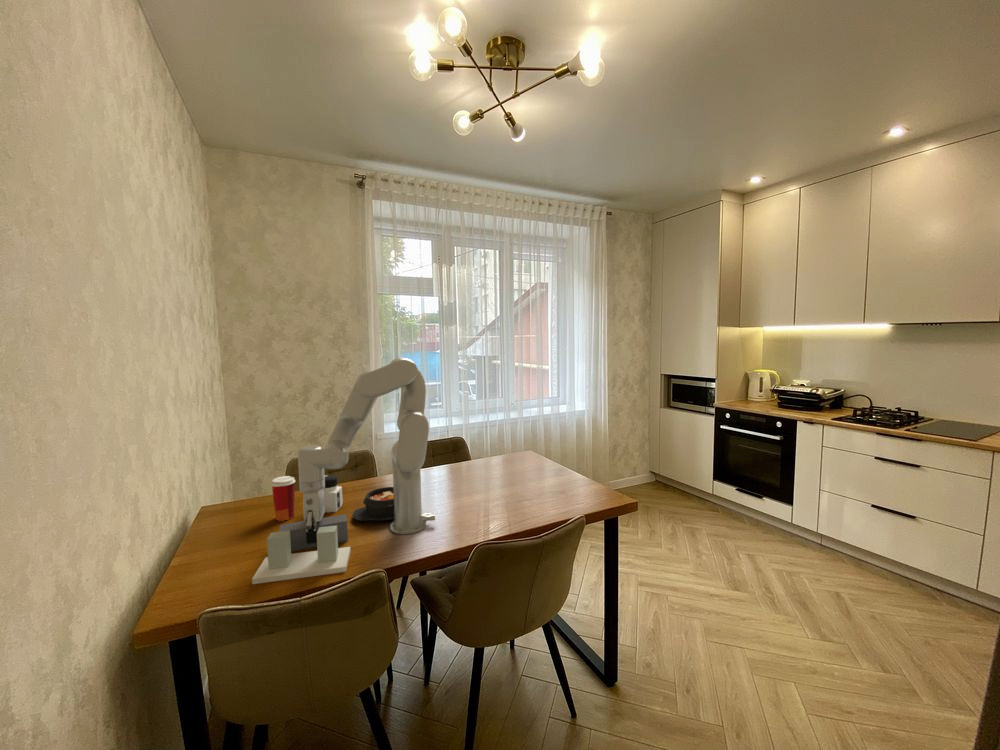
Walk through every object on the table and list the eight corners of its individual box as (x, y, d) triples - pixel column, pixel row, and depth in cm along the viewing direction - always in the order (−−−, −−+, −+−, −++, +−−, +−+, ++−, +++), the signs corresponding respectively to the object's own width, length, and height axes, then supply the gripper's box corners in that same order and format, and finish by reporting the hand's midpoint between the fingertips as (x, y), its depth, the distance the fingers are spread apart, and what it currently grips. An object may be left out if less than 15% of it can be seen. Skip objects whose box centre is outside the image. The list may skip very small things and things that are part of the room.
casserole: (354, 531, 143) (353, 507, 142) (350, 511, 160) (349, 490, 159) (425, 517, 153) (425, 496, 153) (414, 500, 170) (413, 481, 170)
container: (343, 504, 167) (341, 473, 166) (336, 512, 159) (334, 479, 158) (323, 505, 167) (322, 473, 166) (315, 512, 159) (314, 480, 158)
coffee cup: (291, 511, 161) (289, 474, 159) (301, 517, 155) (299, 478, 154) (268, 518, 154) (266, 479, 153) (278, 524, 149) (275, 484, 148)
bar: (347, 533, 142) (346, 514, 141) (348, 541, 136) (347, 520, 136) (281, 545, 134) (280, 524, 133) (279, 554, 128) (278, 532, 128)
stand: (350, 551, 129) (349, 518, 128) (345, 571, 117) (344, 536, 117) (266, 561, 123) (264, 527, 123) (252, 584, 112) (249, 547, 111)
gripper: (319, 492, 126) (322, 548, 127) (329, 475, 143) (331, 524, 144) (292, 495, 124) (295, 551, 126) (305, 477, 141) (308, 527, 142)
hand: (314, 536), depth 135 cm, fingers open, 7 cm apart
